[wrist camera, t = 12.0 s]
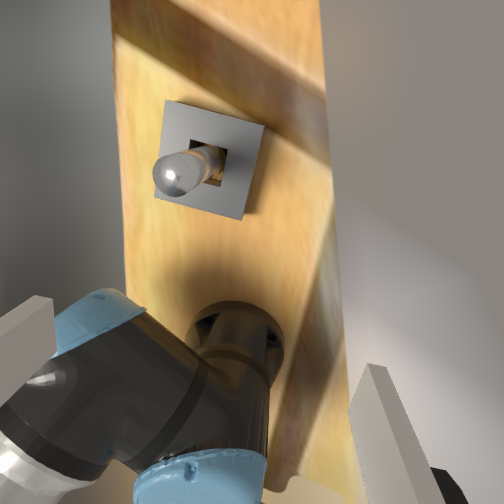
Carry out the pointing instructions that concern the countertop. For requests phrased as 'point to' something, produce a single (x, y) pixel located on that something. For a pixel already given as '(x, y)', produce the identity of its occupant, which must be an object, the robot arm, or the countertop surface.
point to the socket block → (218, 134)
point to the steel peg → (187, 169)
